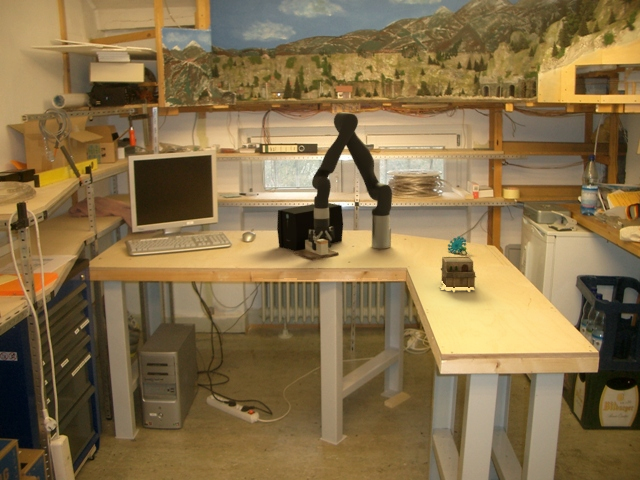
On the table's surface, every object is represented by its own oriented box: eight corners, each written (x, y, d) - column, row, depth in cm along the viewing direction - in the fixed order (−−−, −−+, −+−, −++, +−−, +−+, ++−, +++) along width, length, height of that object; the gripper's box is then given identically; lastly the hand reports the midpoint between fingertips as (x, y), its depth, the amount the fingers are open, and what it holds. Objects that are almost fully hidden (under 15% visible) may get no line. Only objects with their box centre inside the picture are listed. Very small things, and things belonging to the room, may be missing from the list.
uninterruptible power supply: (277, 246, 322) (276, 209, 317) (325, 236, 344) (325, 201, 339) (297, 252, 310) (296, 214, 305) (345, 241, 332) (345, 205, 327)
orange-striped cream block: (322, 252, 305) (322, 238, 303) (328, 254, 301) (328, 240, 299) (316, 253, 302) (315, 240, 301) (321, 255, 299) (321, 241, 297)
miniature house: (435, 281, 260) (436, 255, 257) (468, 281, 259) (469, 255, 257) (441, 293, 245) (442, 265, 242) (476, 292, 245) (477, 265, 242)
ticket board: (320, 248, 317) (320, 237, 315) (338, 255, 304) (338, 242, 302) (294, 253, 308) (294, 241, 307) (311, 260, 295) (311, 247, 294)
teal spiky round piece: (443, 247, 308) (456, 232, 309) (448, 254, 311) (461, 239, 312) (457, 255, 299) (470, 240, 300) (462, 262, 302) (475, 247, 303)
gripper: (329, 213, 304) (329, 245, 308) (305, 217, 296) (305, 249, 300) (337, 216, 298) (337, 248, 302) (313, 219, 290) (313, 252, 294)
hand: (321, 248), depth 301 cm, fingers open, 8 cm apart
